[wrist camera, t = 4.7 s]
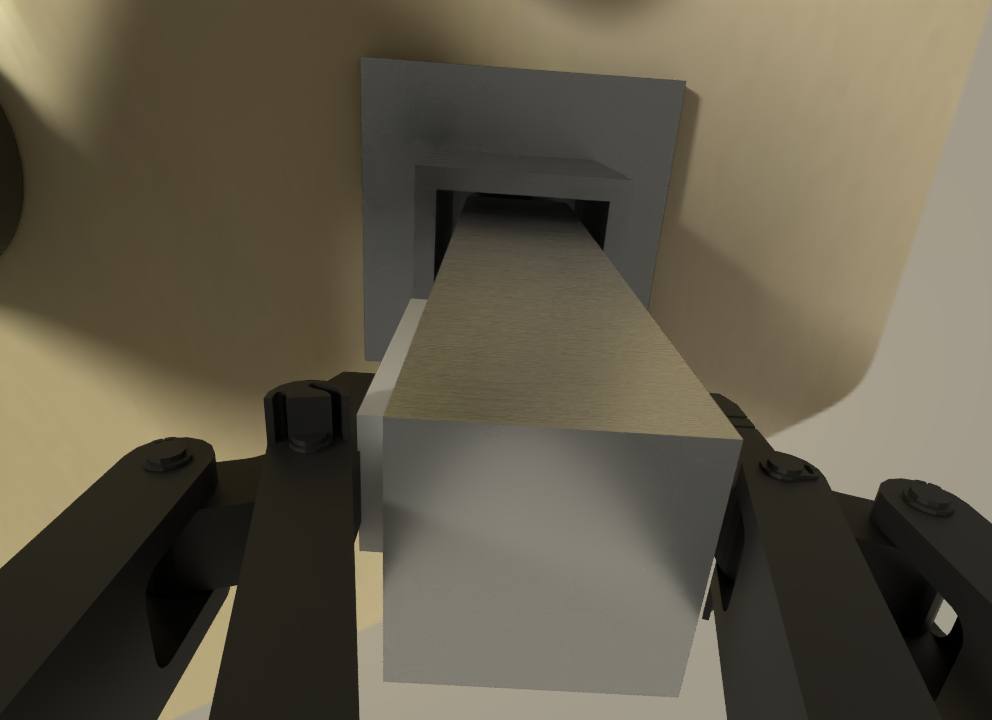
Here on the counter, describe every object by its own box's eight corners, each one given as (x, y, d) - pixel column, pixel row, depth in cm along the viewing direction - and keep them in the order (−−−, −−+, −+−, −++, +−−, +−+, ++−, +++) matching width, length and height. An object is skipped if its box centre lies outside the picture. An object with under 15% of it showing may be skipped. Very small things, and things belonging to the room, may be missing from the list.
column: (462, 304, 30) (383, 709, 10) (467, 196, 28) (382, 417, 8) (555, 310, 30) (671, 724, 10) (566, 202, 28) (743, 439, 8)
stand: (369, 352, 37) (317, 447, 26) (365, 58, 31) (297, 31, 20) (632, 369, 37) (683, 469, 27) (679, 82, 31) (770, 66, 21)
